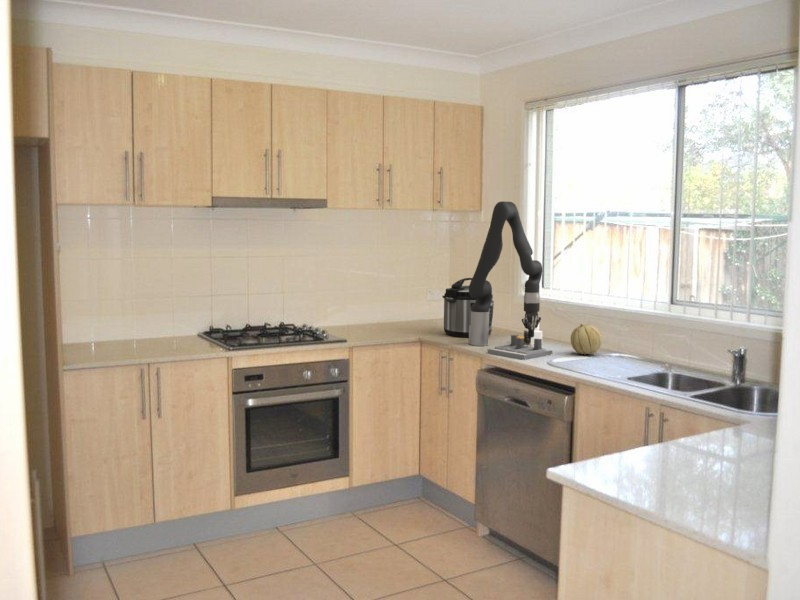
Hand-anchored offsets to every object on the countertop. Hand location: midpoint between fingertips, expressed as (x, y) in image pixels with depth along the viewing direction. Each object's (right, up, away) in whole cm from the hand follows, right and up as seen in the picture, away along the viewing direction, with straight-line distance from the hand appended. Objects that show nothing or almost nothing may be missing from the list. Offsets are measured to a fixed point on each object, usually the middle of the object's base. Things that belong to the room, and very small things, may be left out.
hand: (531, 337), depth 367 cm
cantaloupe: (+26, -9, -3) cm, 27 cm away
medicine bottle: (+5, -5, +26) cm, 27 cm away
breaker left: (-8, -5, +4) cm, 10 cm away
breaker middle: (-6, -6, -5) cm, 10 cm away
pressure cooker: (-26, -2, +54) cm, 60 cm away
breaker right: (+2, -6, -7) cm, 9 cm away
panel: (-6, -8, -4) cm, 11 cm away
